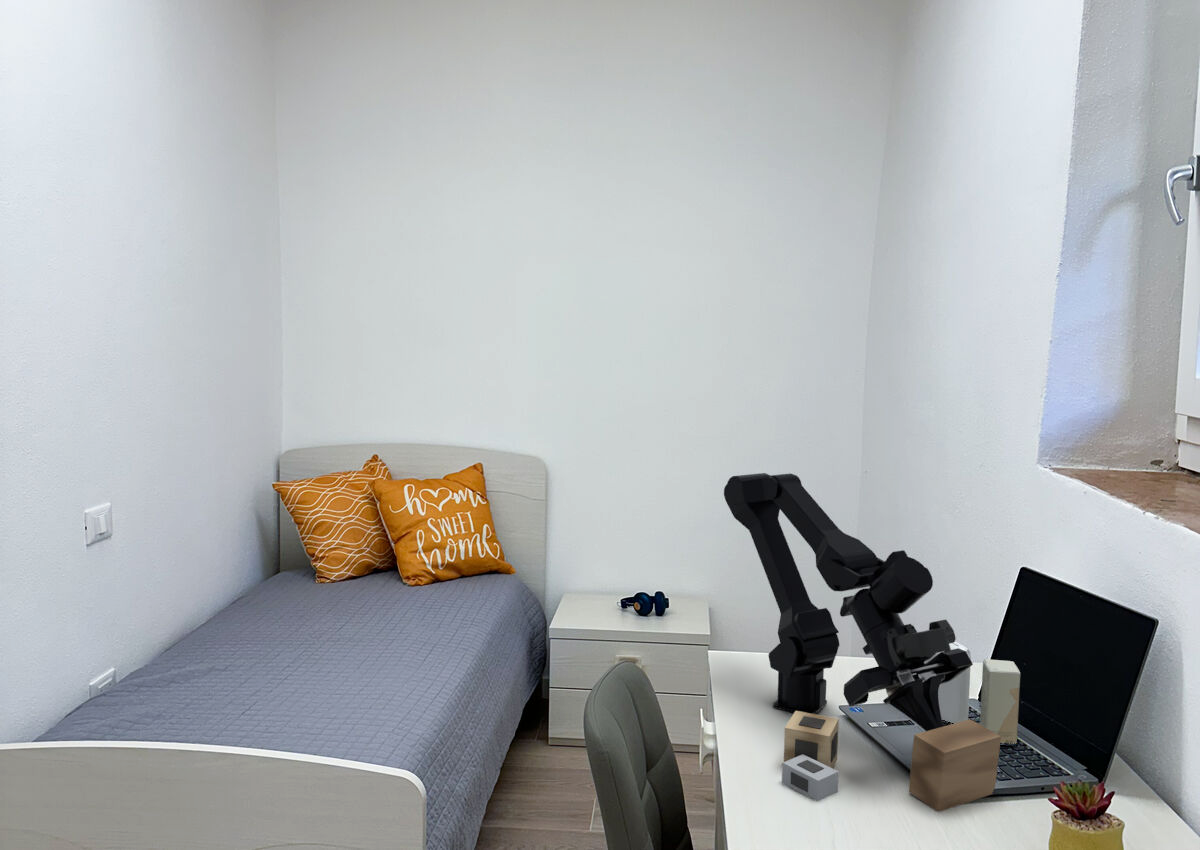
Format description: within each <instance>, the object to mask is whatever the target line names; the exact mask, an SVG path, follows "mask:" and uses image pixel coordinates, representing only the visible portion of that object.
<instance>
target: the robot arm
mask: <svg viewBox="0 0 1200 850" xmlns="http://www.w3.org/2000/svg"><path fill="white" fill-rule="evenodd" d="M723 488H724V489H723V497H724V500H725V503H726V505H727V506H728V508H729V510H730V513H731V514H732V516H733V518H734V519H736V521H737V522H739V523H740V524H741V525H742V526H744V527H745V528H746V529H747V530H748V532H749V534H750V536H751V539H752V541H753V543H754V544H753V545H754V547H755V549H756V552H757V554H758V558H759V560H760V562H761V564H762V567H763V570H764V573H765V576H766V578H767V581H768V584H769V585H770V588H771V591H772V594H773V596H774V598H775V602H776V604H777V606H778V610H779V613H780V616H779V617H780V618H779V622H778V628H777V629H778V630H777V636H778V639H779V643H778V644H777V645H776V646H775V647H774V648H773V649H772V650H770V652H769V653H768V659H769V666H770V668H771V669H773V670H775V671H777V672H778V674H777V700H776V701H774V702H773V703H772V707H773V708H774V709H778V710H782V711H786V712H790V713H793V714H794V713H795V711H800V712H806V713H811V714H817V713H818V712H819V711H820V710H821V709H823V707H825V706H826V705H827V703H828V701H827V680H826V679H825V678H824V673H825V672H824V671H825V670H824V669H831V668H833V665H834V661H835V660H836V656H837V654H838V650H839V647H840V640H839V636H838V634H839V632H840V631H839V630H838V629H837V627H836V625H835V624H834V621H833V616H832V614H831V612H830V610H829V609H828V607H824V608H818V607H817V606H815V605H814V604H813V602H812V601H811V599H810V597H809V594H808V592H807V589H806V586H805V584H804V581H803V578H802V577H801V576H802V575H801V573H800V571H799V569H798V566H797V564H796V561H795V557H794V556H793V554H792V553H793V552H792V551H791V549H790V546H789V543H788V542H787V538H786V536H785V534H784V531H783V529H782V526H781V523H780V520H779V516H780V511H781V512H782V513H783V515H784V516H785V518H787V520H788V521H789V522H790V524H792V526H793V527H794V528H795V529H796V531H797V532H798V534H800V536H801V537H802V538H803V540H805V542H806V543H807V544H808V545H809V547H810V548H811V549H812V552H814V555H815V567H816V569H817V570H818V572H819V573H820V575H821V577H822V579H823V580H824V582H825V583H826V585H827V586H828V588H829V589H831V591H834V592H847V591H851V590H857V589H860V590H858V591H857V592H856V593H854V594H853V595H848V596H844V597H843V598H842V605H841V607H840V611H839V615H840V617H842V618H844V617H849V616H852V618H853V619H854V622H855V623H856V625H857V627H858V629H859V631H860V633H861V636H862V637H863V639H864V641H865V643H866V645H864V646H863V647H862V650H863V653H864V654H865V655H866V656H867V655H871V654H872V656H873V658H874V660H875V662H876V665H877V666H873V667H871V668H870V667H869V668H865V669H862V670H860V671H859V672H857V673H856V674H855V675H854V676H853V677H851V678H850V679H849V680H848V681H846V683H844V685H843V696H844V698H845V700H846V703H847V705H848V706H849V707H853V706H858V705H862V704H865V703H867V702H868V699H869V693H873V692H878V691H882V690H885V692H886V694H887V697H886V698H884V699H883V703H884V705H888V704H889V705H891V706H893V707H894V708H895V709H896V710H898V711H899V712H901V713H902V714H904V715H905V716H907V717H908V719H911V721H913V722H914V723H915V724H917V725H918V727H920V728H922V730H924V732H925V731H929V730H933V729H936V728H940V727H943V726H944V725H943V721H942V719H941V713H940V707H939V699H938V689H939V686H940V684H943V683H947V682H949V681H951V680H953V679H954V678H955V677H957V676H958V675H959V674H961V673H962V672H964V671H965V670H966V669H968V668H969V667H970V668H971V667H972V666H973V665H974V663H973V662H972V660H970V658H969V656H968V654H967V653H966V651H964V650H961V649H959V648H957V649H953V650H951V649H950V645H949V644H950V643H954V642H956V640H957V639H956V634H955V631H954V629H953V627H952V626H951V624H950V623H949V621H948V620H947V619H941V620H937V621H930V623H929V625H928V629H927V630H923V631H917V629H916V627H915V626H914V625H913V624H912V623H908V624H907V623H906V624H904V622H903V620H902V617H901V616H900V614H903V613H906V612H907V611H908V610H909V609H911V607H913V606H914V605H915V604H917V602H918V601H920V600H921V599H922V598H923V597H924V596H926V594H928V593H929V592H930V591H931V590H932V589H933V585H934V581H933V580H934V579H933V576H932V574H931V572H930V570H929V569H928V567H925V566H924V564H923V563H921V562H920V561H918V560H917V559H915V558H913V557H909V556H908V554H907V552H906V551H905V550H903V549H902V550H896V551H892V552H891V553H890V554H889V555H888V556H887V558H886V560H883V559H881V558H879V557H878V556H877V555H876V554H875V552H874V551H873V550H872V549H871V548H870V547H868V546H867V545H866V544H865V543H863V542H862V541H861V540H860V539H859V538H856V537H854V536H851V535H849V534H847V533H844V532H843V531H842V530H841V529H840V528H839V527H838V526H837V524H836V523H835V522H834V521H833V520H832V519H831V518H830V516H829V515H828V514H827V512H825V511H824V509H822V507H821V506H820V505H819V503H818V502H816V500H815V499H814V498H813V497H812V495H811V494H810V493H809V492H808V491H807V490H806V488H805V487H804V486H803V484H802V480H801V479H800V477H799V476H798V475H796V474H793V473H791V472H790V473H789V472H788V473H782V474H772V475H770V474H768V473H765V472H763V473H762V472H761V473H751V474H749V473H748V474H741V475H734V476H731V477H730V478H729V479H728V480H727V483H726V484H725V486H724V487H723ZM943 651H944V652H943ZM938 652H941V653H939V654H938V655H937V656H935V657H934V658H933V659H931V660H930V661H929V662H928V663H926V664H925V663H924V662H925V661H926V660H929V659H930V658H931V657H933V655H935V654H936V653H938ZM913 673H914V674H915V673H916V674H915V675H912V674H913Z"/></svg>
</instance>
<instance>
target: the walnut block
mask: <svg viewBox="0 0 1200 850" xmlns="http://www.w3.org/2000/svg"><path fill="white" fill-rule="evenodd" d="M1000 741H1001V736H1000V735H998V734H996V733H994V732H992V731H991V730H989V729H987V728H985V727H983V726H982V725H980V723H978V722H976V721H974V720H973V719H969V718H968V720H965V721H962V722H958V723H954V724H952V723H950V724H948V725H943V727H940V728H936V729H933V730H929V731H925V730H924V731H922V732H919V733H914V734H913V744H912V754H911V763H910V772H909V773H910V774H909V783H908V793H909V794H911V795H912V796H913V797H915V798H917V799H918V800H920V801H922V803H924V804H925V805H927V806H928V807H930V808H931V809H933V810H935V811H936V812H937V813H939V812H943V811H945V810H946V811H947V810H948V809H951V808H955V807H957V806H962V805H963V804H966V803H969V802H972V801H976V800H980V799H982V798H984V797H988V796H992V795H994V794H993V793H992V792H993V790H994V789H995V790H996V783H997V782H996V781H997V774H998V767H999V766H998V765H999V757H1000V756H999V755H1000V751H1001V750H1000V747H1001V746H1000Z"/></svg>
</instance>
